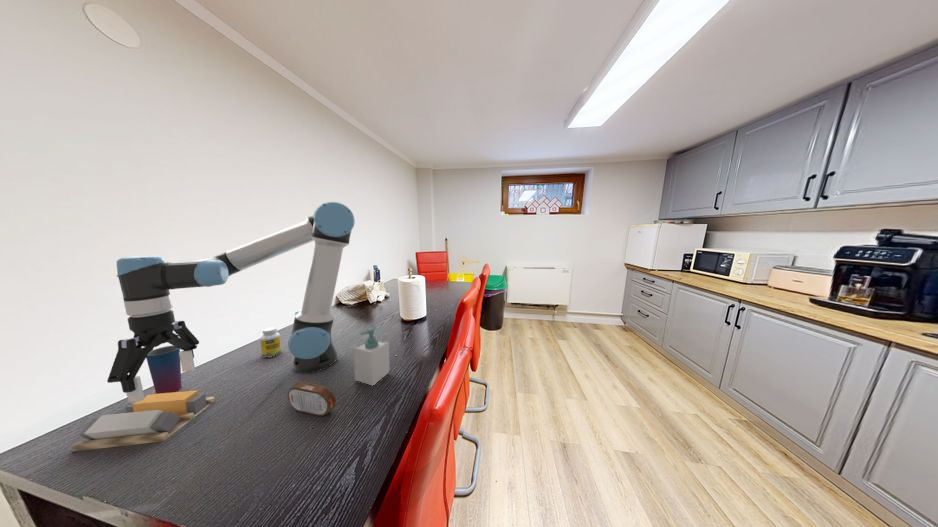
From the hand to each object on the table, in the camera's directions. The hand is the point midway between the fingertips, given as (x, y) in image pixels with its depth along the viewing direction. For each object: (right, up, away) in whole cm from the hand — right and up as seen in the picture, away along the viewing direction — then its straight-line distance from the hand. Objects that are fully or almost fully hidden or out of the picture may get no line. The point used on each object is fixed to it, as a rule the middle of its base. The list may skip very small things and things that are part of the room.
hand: (165, 384), depth 67 cm
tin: (+39, -10, +3) cm, 41 cm away
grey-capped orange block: (0, -9, +1) cm, 9 cm away
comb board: (0, -10, -2) cm, 10 cm away
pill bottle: (0, -6, +36) cm, 36 cm away
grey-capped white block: (0, -9, -6) cm, 10 cm away
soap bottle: (+51, -8, +21) cm, 55 cm away
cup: (-12, -8, +10) cm, 18 cm away
